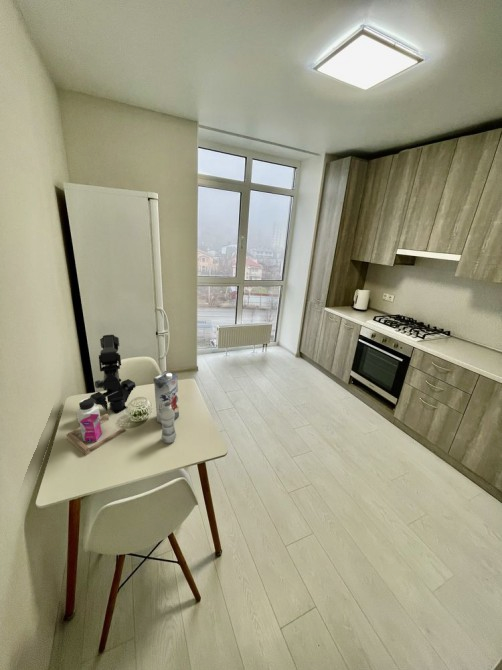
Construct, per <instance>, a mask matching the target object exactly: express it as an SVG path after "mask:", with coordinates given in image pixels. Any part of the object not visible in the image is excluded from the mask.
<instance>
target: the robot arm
mask: <svg viewBox="0 0 502 670" xmlns="http://www.w3.org/2000/svg"><path fill="white" fill-rule="evenodd" d="M99 341H100V342H99V343H100V348H101V350H100V354H99V355H98V363H99V372H103V379H102V380H99V379H98V380H96V381H94V385H95V386H94V387H95V388H96V389H102V390H103V391H106V392H100V391H96V392H95V393H93V394H91V395H89V398H90V401H92V402H93V403H94V405H95V406H97V405H99V406H101V407H102V408H103V410H104V411H105V412H106V413H107V412H109V410H110V411H111V412H112V413H115V414H118V413H120V412H122V411H124V410H127V408H126V407H127V405H126V403H127V402H128V399H129V397H130V394H131V393H132V391H134V389H135V388H136V383H135V381H133V380H131V379H130V378H129V379H125V380H123V381H122V379H121V378H120V373H119V370H120V369H121V366H122V359H121V354H120V352H118V351H119V347H120V338H119V337H118V336H115V334H105V335H102V337H101V338H100V339H99ZM108 403H109V407H108ZM108 408H109V409H108Z"/></svg>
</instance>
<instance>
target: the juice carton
mask: <svg viewBox="0 0 502 670" xmlns="http://www.w3.org/2000/svg"><path fill="white" fill-rule="evenodd" d="M178 377H179V375H178V373H175V372H172V371H167V370H165V371H163V372H162V373H161V374H160V375H157V376H155V377H154V378H153V384H154V396H155V408H156V410H155V411H156V421H157V423H160V424H162V423H161V419H160V413H161V411H162V410H163V409H162V407H163V403H165V402H170V403H171V408H172V409H173V410H174V412H175V417H174V421H175V420H177V419H178V418H179V417H180V415H179V414H180V410H179V408H180V406H179V405H180V404H179V385H178V382H179V381H178Z"/></svg>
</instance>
